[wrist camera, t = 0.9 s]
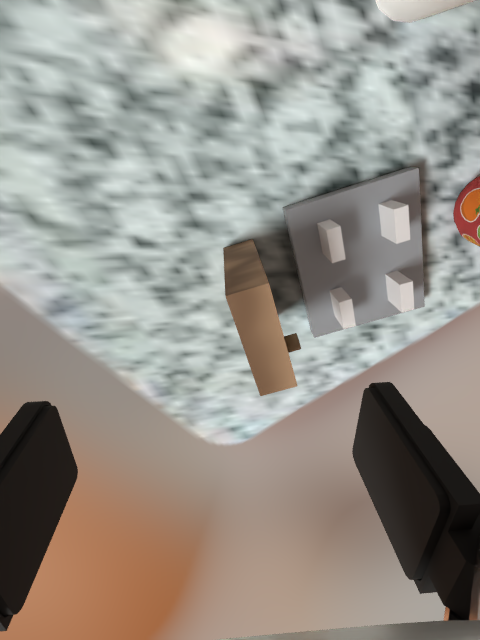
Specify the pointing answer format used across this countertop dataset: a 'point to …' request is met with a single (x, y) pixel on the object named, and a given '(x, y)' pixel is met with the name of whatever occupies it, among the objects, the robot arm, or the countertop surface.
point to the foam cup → (416, 8)
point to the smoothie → (469, 212)
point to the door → (258, 319)
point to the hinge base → (359, 251)
